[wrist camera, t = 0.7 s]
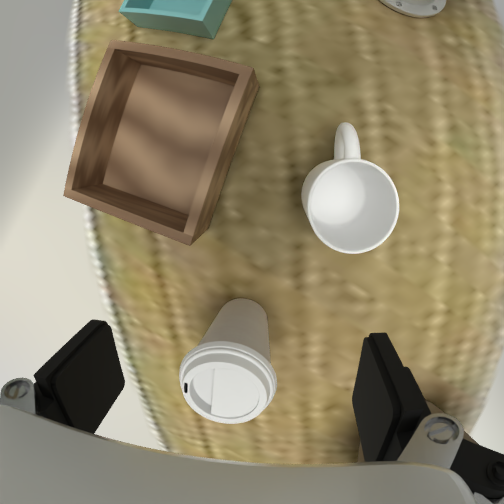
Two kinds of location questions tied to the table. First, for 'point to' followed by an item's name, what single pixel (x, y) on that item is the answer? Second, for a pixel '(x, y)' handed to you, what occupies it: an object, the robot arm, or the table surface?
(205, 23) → the small crate
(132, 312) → the table surface
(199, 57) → the big crate
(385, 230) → the mug
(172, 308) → the table surface
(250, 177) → the table surface
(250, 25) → the table surface
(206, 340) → the coffee cup
